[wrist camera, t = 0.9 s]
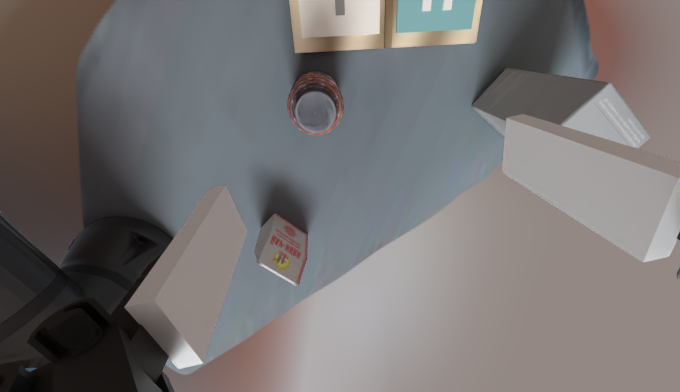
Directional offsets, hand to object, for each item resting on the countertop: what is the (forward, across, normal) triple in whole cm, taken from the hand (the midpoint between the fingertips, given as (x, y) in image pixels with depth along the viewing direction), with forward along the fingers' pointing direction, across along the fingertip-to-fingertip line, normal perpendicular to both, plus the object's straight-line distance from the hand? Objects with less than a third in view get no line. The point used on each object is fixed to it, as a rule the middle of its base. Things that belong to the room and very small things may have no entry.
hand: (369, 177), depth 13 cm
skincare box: (+26, +23, -7) cm, 36 cm away
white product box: (+27, -12, -19) cm, 35 cm away
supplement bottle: (+27, -2, 0) cm, 27 cm away
